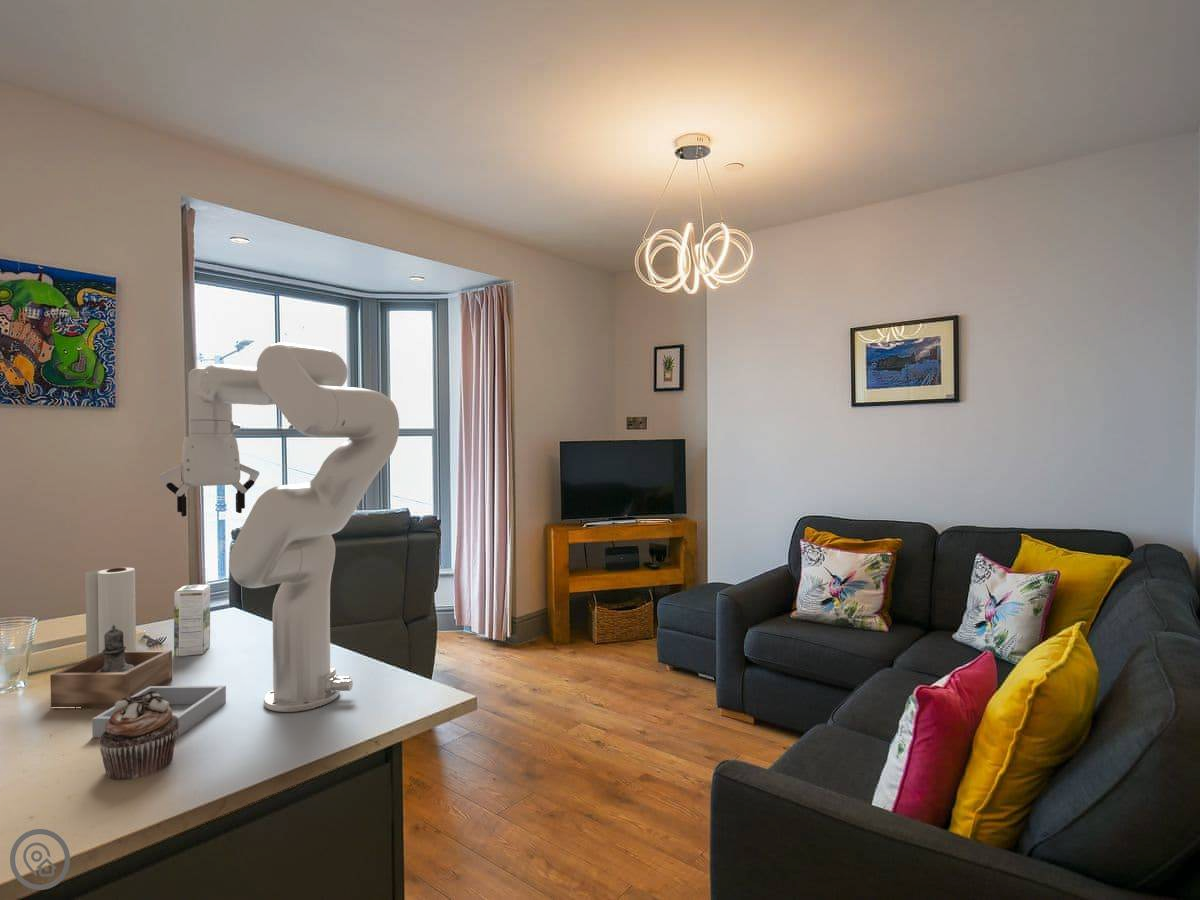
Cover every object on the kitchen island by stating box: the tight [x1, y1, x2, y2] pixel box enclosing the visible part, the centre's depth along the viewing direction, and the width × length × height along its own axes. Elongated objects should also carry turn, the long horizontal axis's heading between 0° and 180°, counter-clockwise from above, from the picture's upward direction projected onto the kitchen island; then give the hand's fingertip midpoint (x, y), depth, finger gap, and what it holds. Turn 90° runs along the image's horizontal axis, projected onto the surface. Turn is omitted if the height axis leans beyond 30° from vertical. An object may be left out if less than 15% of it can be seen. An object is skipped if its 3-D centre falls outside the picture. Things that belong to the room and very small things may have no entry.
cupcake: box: [98, 691, 180, 781], centre depth 95 cm, size 10×10×10 cm
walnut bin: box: [49, 649, 173, 709], centre depth 122 cm, size 13×13×6 cm
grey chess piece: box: [95, 625, 134, 673], centre depth 121 cm, size 6×6×12 cm
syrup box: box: [173, 584, 211, 657], centre depth 146 cm, size 6×6×14 cm
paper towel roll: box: [84, 567, 137, 659], centre depth 131 cm, size 7×6×21 cm
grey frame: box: [91, 685, 227, 738], centre depth 111 cm, size 14×14×3 cm
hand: (211, 514), depth 132 cm, fingers open, 9 cm apart
